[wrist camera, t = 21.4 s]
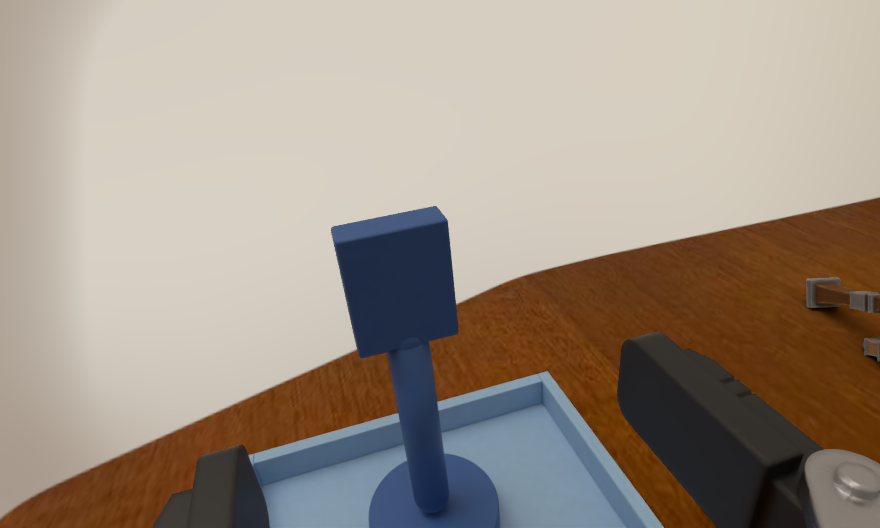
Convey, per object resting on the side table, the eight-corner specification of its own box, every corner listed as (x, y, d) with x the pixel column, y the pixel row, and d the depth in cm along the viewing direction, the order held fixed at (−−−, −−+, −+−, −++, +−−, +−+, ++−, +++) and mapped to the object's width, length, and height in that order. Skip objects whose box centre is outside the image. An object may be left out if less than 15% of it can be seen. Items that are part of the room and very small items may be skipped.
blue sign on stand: (385, 610, 18) (299, 286, 12) (364, 491, 23) (292, 208, 16) (521, 562, 19) (509, 239, 13) (474, 457, 24) (448, 179, 17)
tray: (240, 763, 15) (219, 732, 14) (252, 488, 24) (239, 457, 23) (677, 589, 18) (685, 554, 17) (547, 401, 27) (547, 370, 26)
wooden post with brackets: (912, 388, 24) (913, 294, 24) (806, 347, 32) (806, 275, 32) (953, 387, 24) (955, 292, 24) (837, 345, 32) (837, 274, 32)
